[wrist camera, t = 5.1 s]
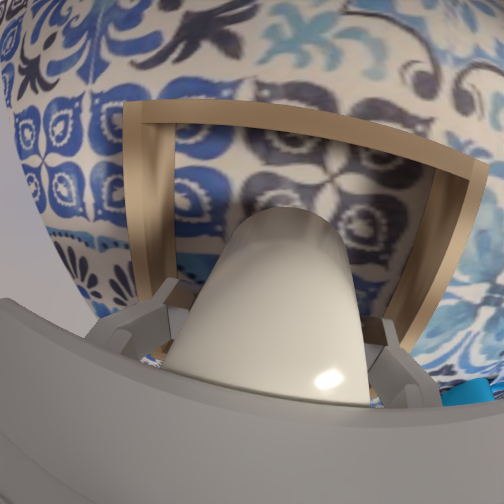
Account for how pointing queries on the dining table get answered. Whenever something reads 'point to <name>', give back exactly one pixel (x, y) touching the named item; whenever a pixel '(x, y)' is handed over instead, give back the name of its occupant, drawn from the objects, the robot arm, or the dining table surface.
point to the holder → (314, 124)
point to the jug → (278, 315)
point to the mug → (471, 392)
